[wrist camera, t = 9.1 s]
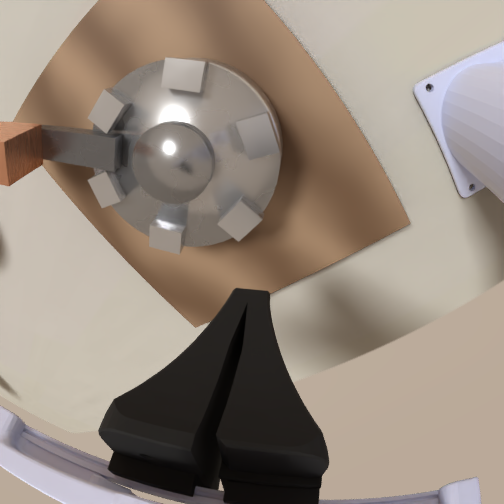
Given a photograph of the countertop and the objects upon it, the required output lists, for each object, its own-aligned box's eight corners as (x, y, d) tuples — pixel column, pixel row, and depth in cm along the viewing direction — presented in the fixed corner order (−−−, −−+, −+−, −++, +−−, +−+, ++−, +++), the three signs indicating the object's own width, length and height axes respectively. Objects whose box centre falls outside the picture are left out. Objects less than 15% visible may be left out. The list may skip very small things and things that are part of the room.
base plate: (192, -68, 11) (183, -77, 10) (404, 212, 19) (411, 224, 18) (22, 122, 19) (8, 128, 18) (197, 316, 27) (192, 330, 26)
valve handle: (302, 77, 14) (304, 87, 9) (260, 241, 20) (244, 314, 15) (34, 54, 14) (-39, 72, 9) (37, 188, 20) (-19, 231, 15)
